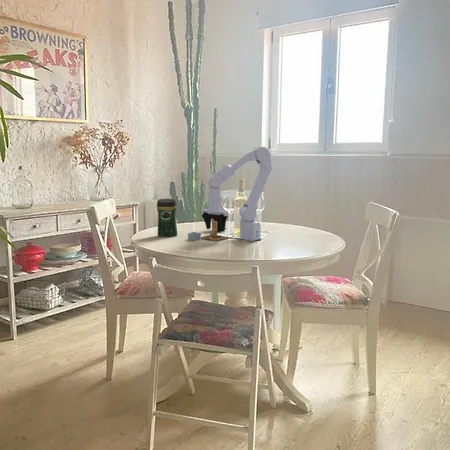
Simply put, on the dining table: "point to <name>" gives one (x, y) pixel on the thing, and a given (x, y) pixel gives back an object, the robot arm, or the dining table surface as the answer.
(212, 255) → the dining table surface
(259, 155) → the robot arm
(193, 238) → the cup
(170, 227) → the coffee jar
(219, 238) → the tray
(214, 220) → the coffee mug
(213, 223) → the dowel
